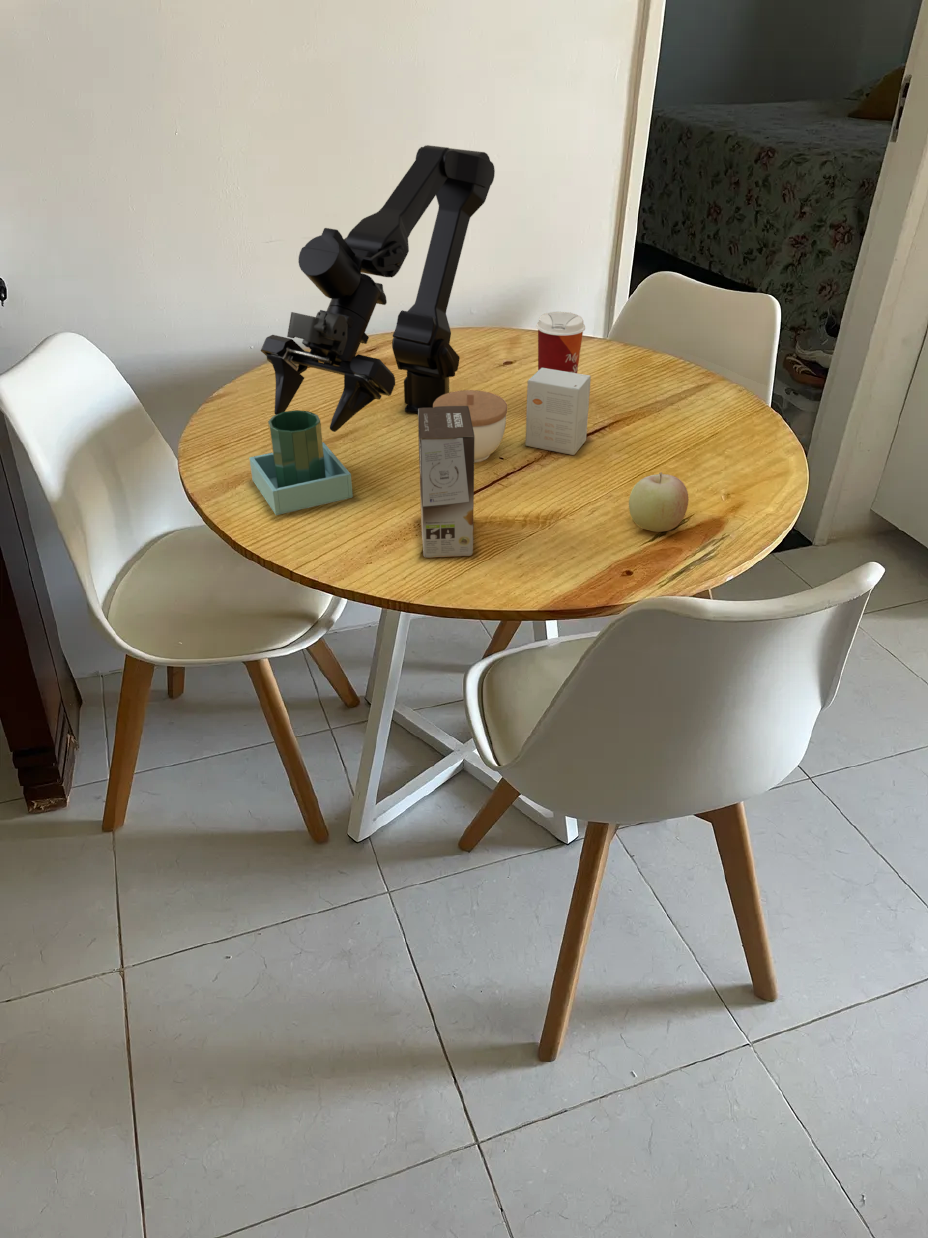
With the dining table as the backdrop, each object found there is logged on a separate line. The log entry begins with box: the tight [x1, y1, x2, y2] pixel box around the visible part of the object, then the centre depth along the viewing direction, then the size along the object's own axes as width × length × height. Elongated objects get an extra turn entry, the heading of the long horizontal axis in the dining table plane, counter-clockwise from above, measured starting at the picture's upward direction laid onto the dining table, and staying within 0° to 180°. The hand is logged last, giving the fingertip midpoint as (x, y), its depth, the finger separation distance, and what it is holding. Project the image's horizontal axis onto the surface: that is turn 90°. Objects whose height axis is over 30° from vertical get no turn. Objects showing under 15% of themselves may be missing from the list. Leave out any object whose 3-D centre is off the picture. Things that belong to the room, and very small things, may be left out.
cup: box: [267, 409, 326, 488], centre depth 124 cm, size 7×7×10 cm
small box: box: [525, 368, 592, 456], centre depth 136 cm, size 8×6×10 cm
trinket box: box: [433, 389, 509, 464], centre depth 134 cm, size 11×11×9 cm
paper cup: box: [535, 311, 586, 373], centre depth 147 cm, size 8×8×14 cm
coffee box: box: [417, 406, 475, 558], centre depth 112 cm, size 9×6×16 cm
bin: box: [248, 441, 354, 516], centre depth 126 cm, size 11×11×4 cm
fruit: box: [628, 471, 689, 533], centre depth 118 cm, size 8×7×8 cm
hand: (304, 422), depth 123 cm, fingers open, 9 cm apart
